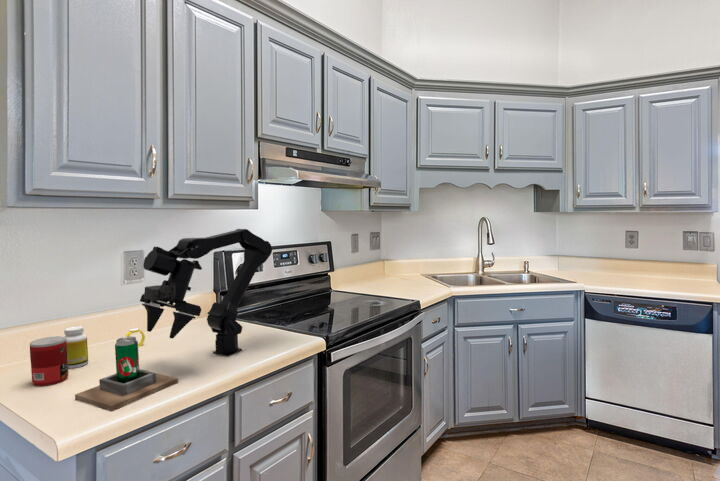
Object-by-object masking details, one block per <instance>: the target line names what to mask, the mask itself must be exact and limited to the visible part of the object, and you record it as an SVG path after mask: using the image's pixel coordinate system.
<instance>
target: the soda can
mask: <svg viewBox="0 0 720 481" xmlns="http://www.w3.org/2000/svg"><path fill="white" fill-rule="evenodd" d="M138 344H139V341H138V340H137V337H136V336H129V337H126V336H124V337H123V336H122V337H120V338H117V339H116V342H115V344H114V351H115V352H114V353H115V368H116V369H115V372H116V373H115V374H117V382H120V383H123V384H125V383H127V382H130V381H132V380H135V379H138V378H140V372H139V369H140V359H139V358H140V355H139V346H138Z"/></svg>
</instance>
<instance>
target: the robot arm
mask: <svg viewBox="0 0 720 481" xmlns="http://www.w3.org/2000/svg"><path fill="white" fill-rule="evenodd" d="M235 244H239V245H240V247H241V248H242V249H244V251H243V263H242V264H241V266H240V269H239V270H238V271H237V274H236V275H235V278H234V279H233V282H232V283H231V284H230V287H229V288H228V290H227V292H226V294H225V295H224V297H223V299H222V300H221V301H220V302H213V303H212V305H211V308H210V310H209V311H208V312H207V313H206V315H207V318H206V321H207V325H208V327H210V328H211V332H212V333H216V334H215V340H214V341H215V350H214V351H212V354H213V355H219V356H225V357H229V356H232V355H234V354H237V353H238V352H241V351H243V350H242V348H239V341H238V340H239V338H238V337H239V335H241V334H242V331H243V326H242V325H241V324H240V323H239V322H238V321H237V318H238V306H239V304H240V302H241V300H242V299H243V297H244V295H245V293H246V291H247V289H248V287H249V285H250V283H251V282H252V280H253V278H254V276H255V274H256V272H257V270H258V268H259V267H260V266H262V265H263V264H264V263H266V262H267V260H268V259H269V257H270V256H271V255H272V252H273V248H272V245H271V243H270V242H269V241H267V240H264V239H263V238H261V237H260V236H258V235H256V234H254V233H253V232H252V231H250V230H249V229H247V228H237V229H235V230H230V231H227V232H222V233H219V234H214V235H210V236H207V237H183V238H181V239H179V240H178V243H177V244H176V245H175V246H174V247H172V248H170V249H169V250H165V249H164V248H162V247H160V246H153V248H152V250H151V251H150V252H148V254H147V255H146V256H145V258H144V259H143V266H142V267H143V269H144V270H146V271H148V272H152V273H153V274H154V273H155V274H158V275H161V276H163V277H164V276H165V277H166V276H168V275H169V276H168V278H167V280H166V279H164V280H163V281H162V282H161V285H160V284H159V285H157V284H156V285H149V286H145V287H144V293H143V294H141V297H140V300H139V302H141V306H143V307H144V309H145V310H146V316H147V317H146V321H147V322H146V331H147V332H148V333H149V332H152V331H153V330H154V328H155V327H156V325H157V323H158V321H159V319H160V317H161V316H162V315H163V313H164V311H165V308H164V307H167V308H171V309H174V310H175V311H172V314H173V316H174V317H173V318H174V319H173V323H172V325H171V329H170V333H169V338H170V339H174V338H175V337H177V335H178V334H179V333H180V332H181V331H182V329H184V328H185V327H186V325H188V324H189V323H191V321H192V320H195V319H196V316H197V317H200V316H201V312H202V308H201V306H200V305H197V304H194V303H189V302H187V301H186V300H184V299H185V297H186V294H187V291H189V292H190V291H191V290H192V286H191V287H190V282H191V280H192V277H193V274H194V272H195V270H199V271H200V270H202V269H203V268H202V266H201V264H200V262H199V260H196V259H200V258H202V257H204V256H207V255H208V254H209V253H210V252H212V251H214V250H217V249H221V248H223V247H228V246H232V245H235ZM178 259H181V260H178ZM189 259H193V260H192V261H191V260H189Z"/></svg>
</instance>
